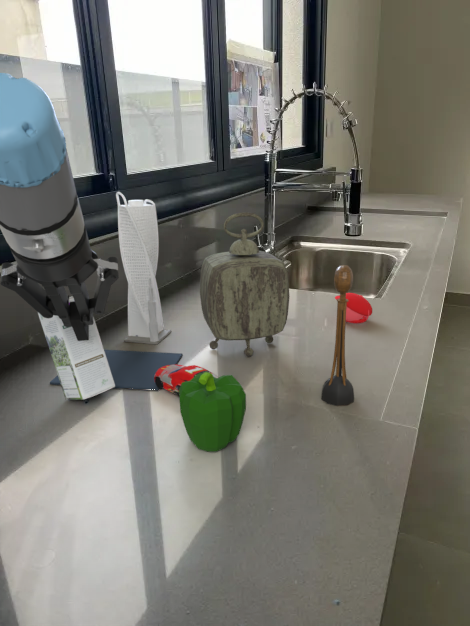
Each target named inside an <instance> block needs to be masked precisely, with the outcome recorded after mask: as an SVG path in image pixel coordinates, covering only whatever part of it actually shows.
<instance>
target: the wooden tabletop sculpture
mask: <svg viewBox="0 0 470 626" xmlns="http://www.w3.org/2000/svg"><path fill="white" fill-rule="evenodd" d="M333 276H334V278H333V285H334V288H335V290H336V292H337V293H339V295H340V298H339V299H337V300H336V302H337V303H336V304H337V307H336V325H335V326H336V327H335V344H334V350H333V351H334V353H333V360H332V367H331V373H330V377H329V378H328V379H326V380H325V381H324V382H323V385H322V388H321V400H322V401H323V402H324V403H326V404H327V405H332V406H335V407H342V406H343V407H344V406H349V405H351V404H352V403H354V402H355V391H354V386H353V384H352V382H351V381H350V380H349V379H348V378H347V377H348V376H347V372H346V371H347V370H346V323H347V322H346V306H347V302H348V299H346V293H350V291H351V289H352V287H353V284H354V272H353V269H352V268H351V267H350V266H349V265H348V264H340V265H339V266H338V267H337V268H336V269H335V272H334V275H333Z"/></svg>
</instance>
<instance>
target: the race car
mask: <svg viewBox="0 0 470 626" xmlns="http://www.w3.org/2000/svg"><path fill="white" fill-rule="evenodd" d="M205 372H209V373H211V374H212V375H213V377H215V378H219V377H220V376H219V377H218V376H217V375H216V374H215V373H213V372H211V371H210V370H208V369H206V368H204V367H202V366H199V365H196V364H191V365H183V364H176V365H167V366H163V367H161V368H159V369H158V371H157V372H156V373H155V376H154V381H155V383H156V386H157V387H158V388H159V389H160V390H162V389H164V390H166V391H168V392H169V393H172V394H174V395H176V396H178V397H179V389H180V386H181V384H182V382H187V381H190V380H191V379H192V378H194V377H195V376H196V375H198V374H199V373H202V374H203V373H205Z"/></svg>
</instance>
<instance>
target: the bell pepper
mask: <svg viewBox="0 0 470 626" xmlns="http://www.w3.org/2000/svg"><path fill="white" fill-rule="evenodd" d="M211 373H212V372H211ZM211 373H209V372H205V373H203V374H202V373H199V374H198V375H196V376H195V377H194V378H192V379H191V380H190V381H187V382H182V384H181V386H180V389H179V396H178V398H179V411H180V416H181V419H182V422H183V426H184V428H185V431H186V434H187V435H188V438H189V440H190V442H192V443H193V445H194V446H195V447H196V448H197V450H200V451H204V452H210V453H211V452H219V451H221V450H222V449H225V448H226V447H227V446H228V444H229V443H233V442H234V441H235V440H236V439H237V438H238V436H239V435H240V434H241V430H242V426H243V423H244V419H245V413H246V410H247V409H246V408H247V404H246V403H247V394H246V392H245V389H244V388H243V386H242V385H241V382H239V381H238V380H237V379H236V378H235V376H233V375H232V374H224V375H220V376H219V378H215V377H213V375H212V374H211Z"/></svg>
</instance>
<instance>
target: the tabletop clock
mask: <svg viewBox="0 0 470 626" xmlns="http://www.w3.org/2000/svg"><path fill="white" fill-rule="evenodd" d="M242 217H243V218H245V217H251V218H254V219H256V220H258V221H259V223H260V228H259V229H257V230H256V231H253V232H249V233H248V230H247V229H246V228H243V229H241V230H240V233H234V232H231V231H229V230H228V229H227V225H228V224H229V222H231V221H232V220H234V219H236V218H242ZM264 228H265V223H264V220H263V219H262V217H260V215H259V214H256V213H254V212H248V211H247V212H245V211H243V212H237V213H234V214H232V215H230V216H228V217H227V218H226V219H225V221H224V223H223V231H224V232H225V234H227V236H230V237H232V238H235V239H237V240H235V241H234V242H233V243H231V246H230V247H229V250H228V251H223V252H218V253H216V252H215V253H214V254H211V255H208V256H207V257H205V258H204V260H203V261H202V265H201V269H200V276H199V277H200V279H199V296H200V297H199V298H200V306H201V311H202V315H203V316H202V317H203V319H204V321H205V322H206V324H207V326H208V328H209V330H210V331H211V333H212V334H213V336H214V338H215V339H214V340H210V342H209V343H208V345H209V349H211V350H216V349H218V347H219V343H218V342H219V341H220V340H222V341H245V344H246V345H245V346H246V348H245V349H243V352H244V355H245V356H246V357H252V356H253V355H254V350H253V348H251V340H256V339H257V340H258V339H263V338H264V341H265V343H266V344H272V343H273V341H274V336H275V335H278V334H280V332H284V329H285V327H286V324H287V320H288V315H289V309H290V308H289V307H290V297H291V296H290V280H289V274H288V269H287V266H286V264H285V261H283V260H281V259H280V258H278V257H276V256H275V255H273V254H272V253H269V252H266V251H265V250H264V251H263V250H260V249H259V247H258V245H257V244H256V242H255V241H254V240H252V239H248V238H253V237H255V236H257V235H259V234H260V233H262V232H263V230H264Z"/></svg>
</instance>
